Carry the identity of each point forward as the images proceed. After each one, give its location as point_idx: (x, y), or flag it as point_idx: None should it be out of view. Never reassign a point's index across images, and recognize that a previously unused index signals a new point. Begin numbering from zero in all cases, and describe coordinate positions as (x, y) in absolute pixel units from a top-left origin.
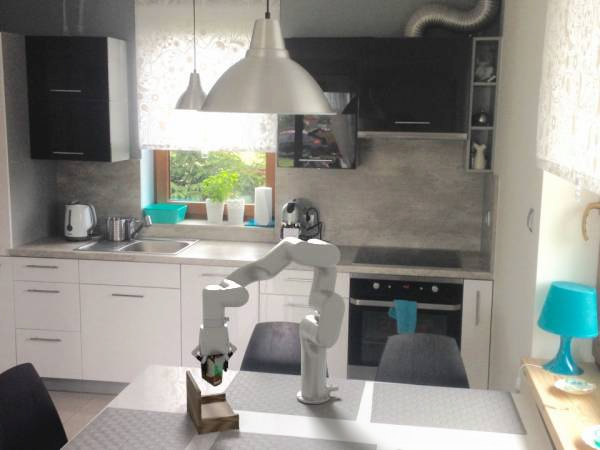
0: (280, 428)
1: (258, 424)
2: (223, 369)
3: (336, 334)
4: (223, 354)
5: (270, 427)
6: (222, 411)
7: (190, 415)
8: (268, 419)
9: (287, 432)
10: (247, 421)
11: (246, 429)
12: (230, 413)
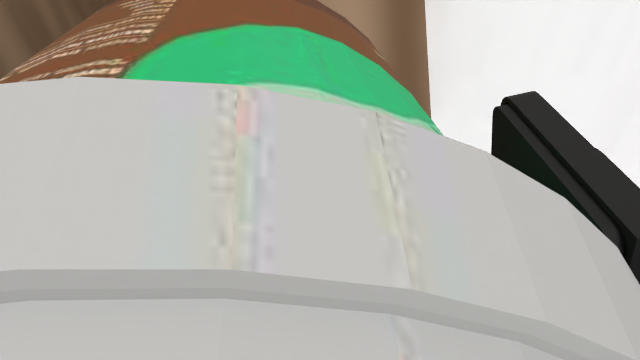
0: (622, 138)
1: (535, 84)
2: (495, 149)
3: None
4: None
5: (581, 124)
6: (344, 13)
7: None
8: (617, 25)
9: (631, 177)
10: (487, 39)
11: (453, 135)
12: (397, 55)
